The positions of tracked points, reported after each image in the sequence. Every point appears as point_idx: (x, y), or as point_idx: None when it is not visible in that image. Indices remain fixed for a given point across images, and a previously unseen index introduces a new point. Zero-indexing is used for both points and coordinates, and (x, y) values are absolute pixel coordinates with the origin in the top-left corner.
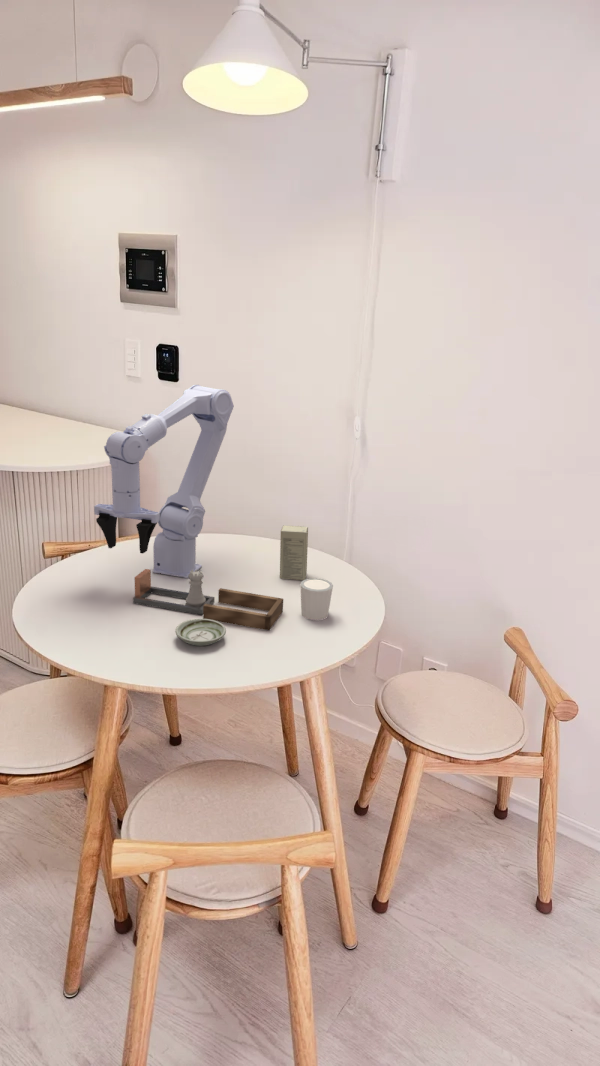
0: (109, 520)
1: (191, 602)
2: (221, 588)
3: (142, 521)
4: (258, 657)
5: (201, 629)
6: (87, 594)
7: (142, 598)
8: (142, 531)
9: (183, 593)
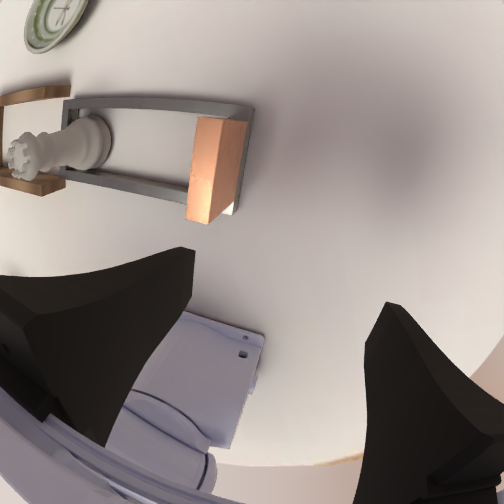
0: (420, 471)
1: (81, 118)
2: (39, 195)
3: (37, 393)
4: (12, 19)
5: (62, 29)
6: (426, 162)
7: (216, 109)
8: (51, 288)
9: (118, 179)
